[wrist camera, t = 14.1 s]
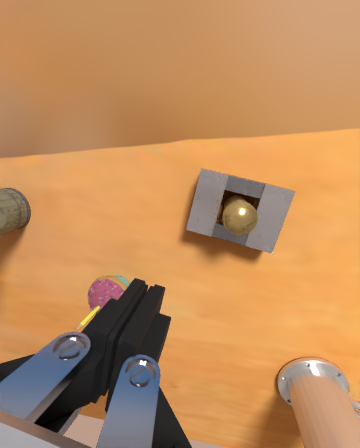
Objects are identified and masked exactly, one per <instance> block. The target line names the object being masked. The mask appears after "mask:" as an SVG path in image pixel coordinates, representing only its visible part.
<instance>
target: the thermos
mask: <svg viewBox="0 0 360 448" xmlns="http://www.w3.org/2000/svg"><path fill="white" fill-rule="evenodd" d="M30 216H31V210H30V206H29V203H28V201H27V200H26V198H25V197H24V196H23V195H22V194H21V192H19V191H17V190H15V189H12V188H4V189H0V235H2V234H5V233H8V232H11V231H13V230H15V229H19V228H22V227H24V226H26V224H27V223H28V222H29V219H30Z"/></svg>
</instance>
